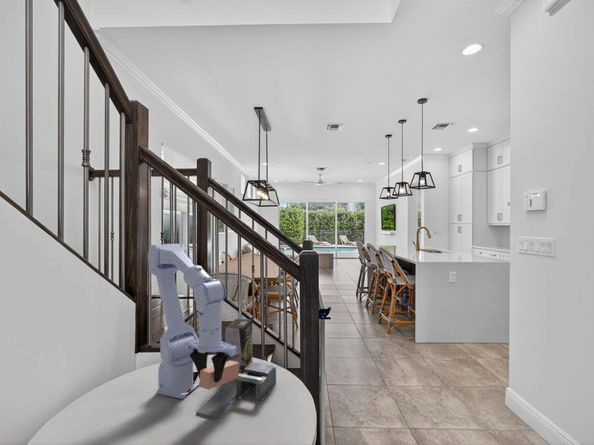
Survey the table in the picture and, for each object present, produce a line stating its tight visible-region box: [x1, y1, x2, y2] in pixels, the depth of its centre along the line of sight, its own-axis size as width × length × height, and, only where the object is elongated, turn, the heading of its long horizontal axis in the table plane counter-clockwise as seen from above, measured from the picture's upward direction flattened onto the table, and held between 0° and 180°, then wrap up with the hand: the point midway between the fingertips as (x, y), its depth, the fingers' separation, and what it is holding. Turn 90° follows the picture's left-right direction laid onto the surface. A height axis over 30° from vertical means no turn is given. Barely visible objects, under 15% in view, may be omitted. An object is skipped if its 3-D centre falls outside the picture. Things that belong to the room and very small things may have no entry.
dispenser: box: [235, 362, 277, 403], centre depth 89 cm, size 8×11×6 cm
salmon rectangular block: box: [198, 360, 239, 391], centre depth 82 cm, size 4×11×4 cm, turn 148°
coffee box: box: [224, 318, 253, 374], centre depth 100 cm, size 9×6×16 cm
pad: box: [195, 387, 237, 420], centre depth 83 cm, size 6×12×1 cm, turn 161°
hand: (210, 378), depth 79 cm, fingers closed on salmon rectangular block, 4 cm apart
